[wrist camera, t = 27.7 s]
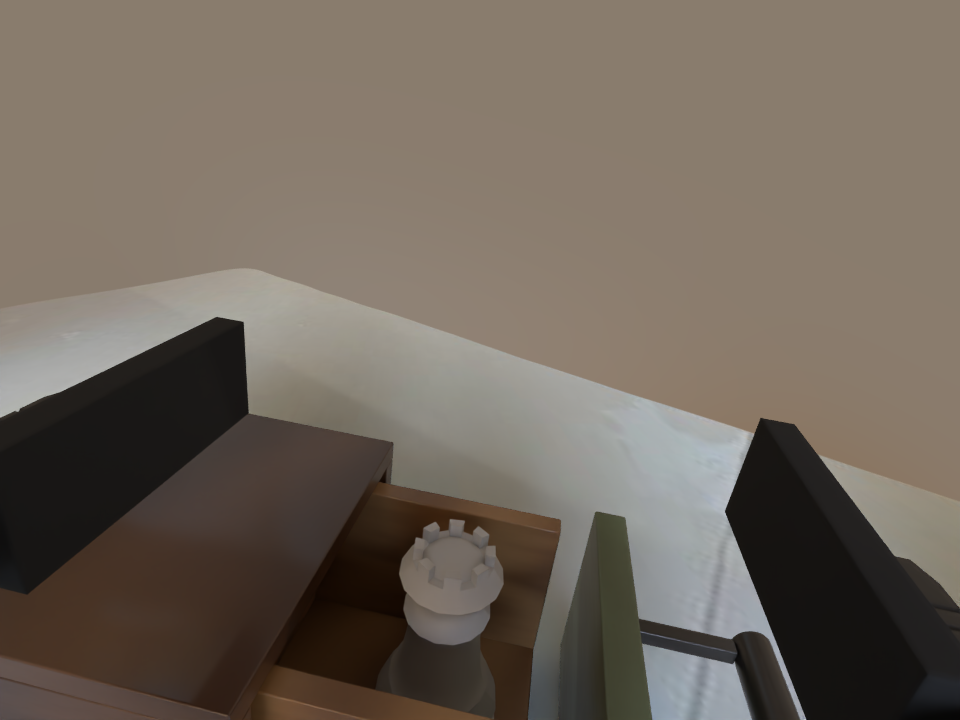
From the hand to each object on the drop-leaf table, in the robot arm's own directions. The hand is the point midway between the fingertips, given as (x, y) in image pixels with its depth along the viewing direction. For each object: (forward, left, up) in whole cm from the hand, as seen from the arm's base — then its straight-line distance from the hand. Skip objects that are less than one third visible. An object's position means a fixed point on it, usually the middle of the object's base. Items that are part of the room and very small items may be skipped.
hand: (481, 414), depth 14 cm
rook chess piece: (0, -1, -13) cm, 13 cm away
